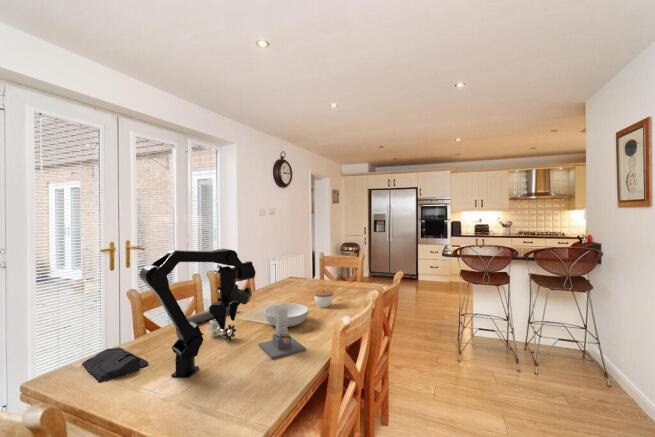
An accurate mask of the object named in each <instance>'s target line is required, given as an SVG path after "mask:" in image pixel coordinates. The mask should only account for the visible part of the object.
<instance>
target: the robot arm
mask: <svg viewBox="0 0 655 437" xmlns="http://www.w3.org/2000/svg"><path fill="white" fill-rule="evenodd" d="M238 256H239V255H238V253H237V252H236V250H233V249H228V248H218V249H214V250H210V251H206V250H204V251H203V250H179V249H178V250H177V249H171V250H168V251H167V253H165V254H164V255H163V256H161V257H159V258H158V259H155V260H154V261H153V262H152V263H150V264H147V265H145V266H144V267H142V269H141V270H140V272H139V278H140V281H142V282H143V283H144V285H146V286H147V287H148V288H149V289H150V290H151V291H152V292H153V294H155V295H156V297H157V299H158V301H159V302H160V304H161V306H162V307H163V309H164V310H165V313H166V314H167V315H168V317H169V319H170V321H171V322H172V324H173V325H174V327H175V332H176V336H177V340H176V341H175V342H174V343H173V345H172V346H171V350H172V352H173V353H174V354H176V355H175V370H174V371H173V373H171V375H170V376H171V377H172V378H173V377H175V378H179V377H180V378H191V377H192V376H193V375H194V374H195V372H197V371H198V369H200V366H198V365H195V364H196V363H195V362H196V361H195V359H196V358H195V357H197V356H198V354H199V351H200V349H201V348H200V347H201V346H202V345H203V342H204V337H203V336H204V335H205V334H204V332H202V331H201V329H200V326H199V325H198V323H196V324H195V323H194V322H192V321H191V322H190V323H189V322H188V320H187V316H186V315H185V313H184V311H183V309H182V308H181V307H180V305H179V303H178V301H177V299H176V297H175V295H174V294H173V292H172V291H171V289H170V282H169V279H168V276H169V275H170V274H171V273H172V271H173V270H174V269H175V267H176V266H177V265H178V264H179V263H213V264H214V263H215V264H218V265H217V266H216V267H215V268H214V269H213V272H214V273H217V274H218V275H219V286H217V291H219V297H217V301H215V302H213V303H212V304H211V305H210V306H209V307H208V311H209V313H211V314H212V315H213V316H214V318H213V319H214V320H216V321H217V323H218V325H219V326H220V328H221V330H224V329H225V328H226V322H227V316H228V315H229V318H230V320H231V321H232V322H234V321H235V320H236V317H237V313H238V308H239V305H245V306H246V305H248V303H250V300H251V297H253V295H252V294H253V293H252V290H251V287H248V286H247V287H246V288H243V289H240V288H239V284H237V283H236V280H237V281H238V282H241V281H246V280H247V281H248V280H253V279H255V277H256V274H257V273H256V270H255V267H254V265H253V262H252V261H245V262H242V261H241V259H239V257H238ZM219 264H220V265H219ZM222 265H225V266H222ZM230 266H231V267H230ZM228 313H229V314H228Z"/></svg>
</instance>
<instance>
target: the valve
mask: <svg viewBox="0 0 655 437" xmlns="http://www.w3.org/2000/svg"><path fill="white" fill-rule="evenodd" d="M208 327H209V328H208V330H209V331H208V332H209V337H211V338H217V337H218V336H220V334H222V337H223V338H224V340H225V341H231V340H232V338H235V336H236V334H235V332H236V331H237V329H236V328H235V324H230V323H229V324H227V327H225V329H224V330H221V328H220V326H219V324H218V323H217V321H216V319H211V320H209V326H208Z"/></svg>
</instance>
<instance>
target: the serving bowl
mask: <svg viewBox="0 0 655 437" xmlns="http://www.w3.org/2000/svg"><path fill="white" fill-rule="evenodd" d="M278 307H285V308H287V324H288V327H289V328H290V327H295V326H298V325H300V324H302V323H303V322H304V321H305V320H306V319H307V317H308V313H309V308H308V307H307V306H306V305H303V304H301V303H294V302H293V303H292V302H290V303H285V302H284V303H278V304H273V305H270V306H268V307H267V308H265V309H264V311H263V312H264V316H265V319H266V321H267V322H268V323H270V324H271V325H272V326H275V327H276V308H278Z"/></svg>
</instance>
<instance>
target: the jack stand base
mask: <svg viewBox="0 0 655 437" xmlns="http://www.w3.org/2000/svg"><path fill="white" fill-rule="evenodd" d="M258 346H259V348H260V349H261V350H262V351H263V352H264V353H265V355H267V356H268V357H269V358H270V359H271V360H275V359H279V358H283V357H287V356H291V355H293V354H297V353H300V352H305V351H306V350H307V348H306V347H305V346H304V345H303V344H302V343H300V342H299V341H297V340H296V339H295V338H294V337H292V335H290V334H289V333H288V336H287V337H283V338H278V337H276V333H274V334H272V339H271V340H267V341H263V342H259V343H258Z"/></svg>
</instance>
